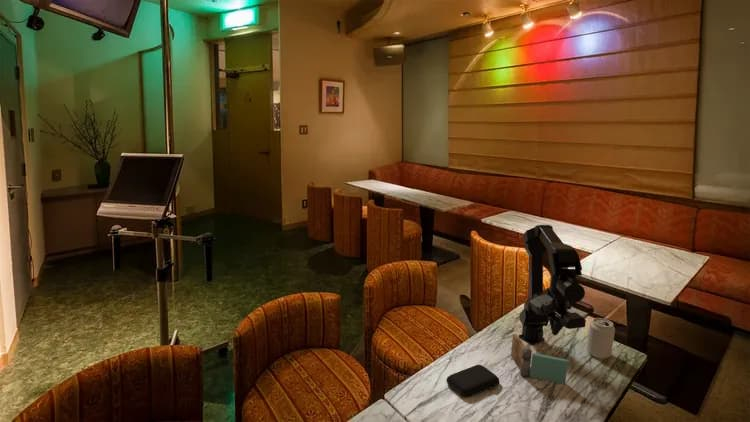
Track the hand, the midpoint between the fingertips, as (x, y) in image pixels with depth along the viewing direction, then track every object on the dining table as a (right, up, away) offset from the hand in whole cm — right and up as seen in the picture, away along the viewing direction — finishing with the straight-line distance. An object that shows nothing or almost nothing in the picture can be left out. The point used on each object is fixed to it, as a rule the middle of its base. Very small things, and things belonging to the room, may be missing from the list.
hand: (554, 334), depth 137 cm
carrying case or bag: (-26, -15, -3) cm, 30 cm away
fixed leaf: (-9, -12, +6) cm, 16 cm away
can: (+20, -10, +13) cm, 26 cm away
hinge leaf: (-4, -13, -1) cm, 14 cm away
